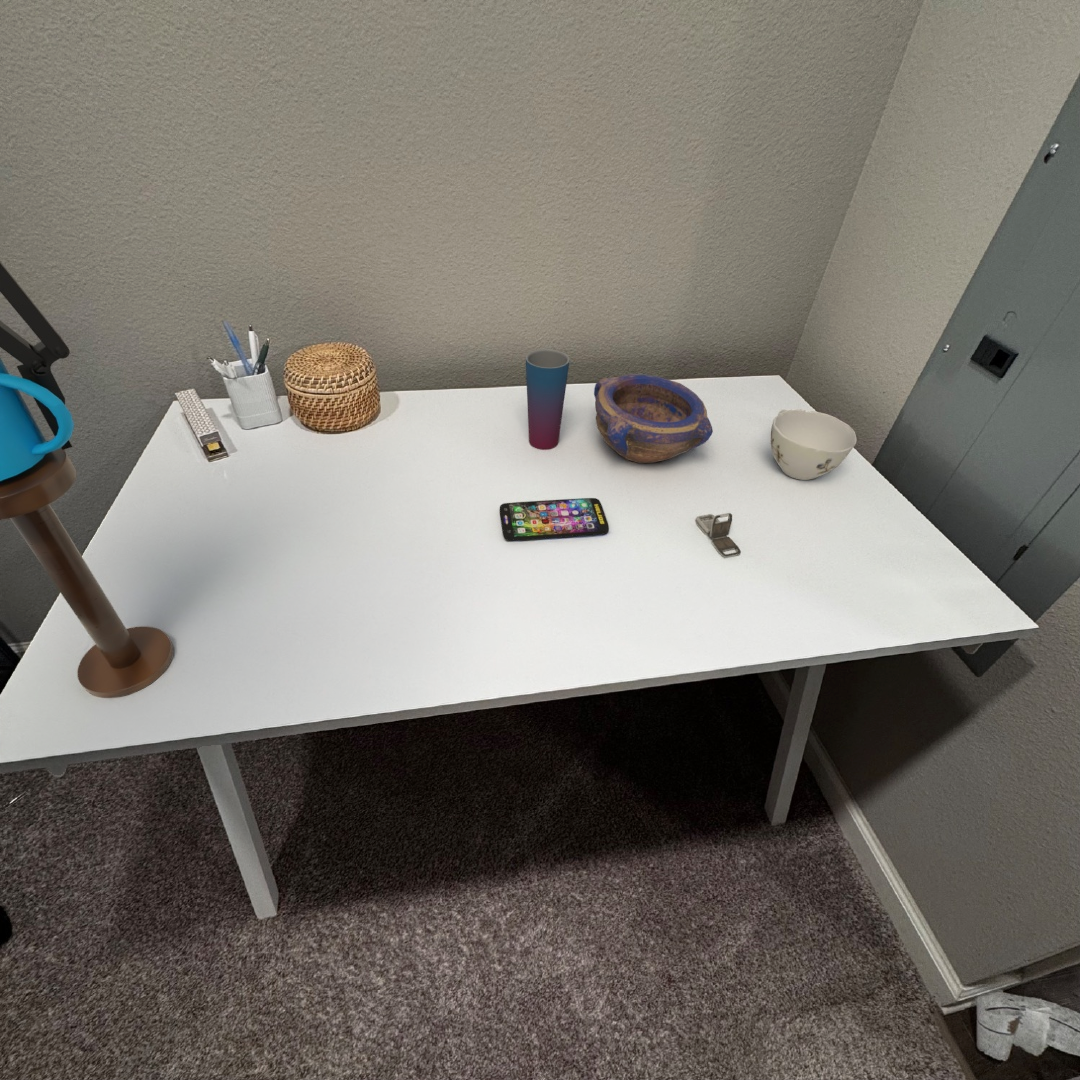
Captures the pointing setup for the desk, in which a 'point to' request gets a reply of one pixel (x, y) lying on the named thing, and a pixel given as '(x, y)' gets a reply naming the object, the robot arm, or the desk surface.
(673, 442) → the bowl
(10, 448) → the mug
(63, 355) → the robot arm
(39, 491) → the stand
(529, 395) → the cup
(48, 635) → the desk surface
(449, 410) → the desk surface
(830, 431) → the teacup
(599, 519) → the smartphone
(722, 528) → the strap clip
